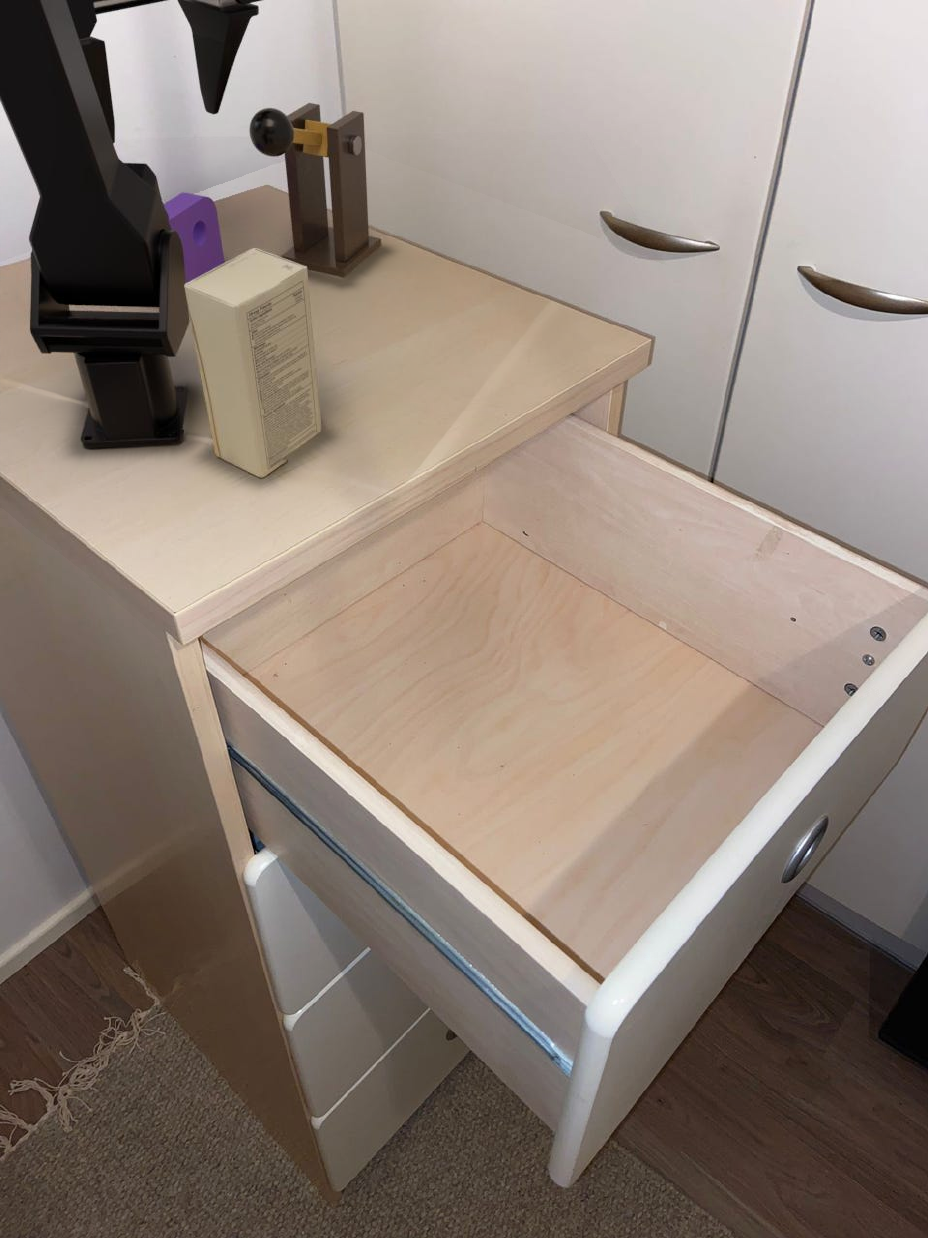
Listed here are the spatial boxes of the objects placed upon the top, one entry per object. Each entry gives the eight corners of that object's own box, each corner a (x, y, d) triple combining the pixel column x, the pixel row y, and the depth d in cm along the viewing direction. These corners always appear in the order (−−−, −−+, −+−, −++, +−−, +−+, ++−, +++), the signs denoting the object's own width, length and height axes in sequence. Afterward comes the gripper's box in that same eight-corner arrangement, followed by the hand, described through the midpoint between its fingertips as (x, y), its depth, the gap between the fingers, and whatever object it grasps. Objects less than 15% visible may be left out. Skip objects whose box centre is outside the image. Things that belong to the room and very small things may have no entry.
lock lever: (277, 158, 70) (281, 109, 69) (239, 151, 71) (242, 102, 70) (348, 165, 80) (352, 121, 78) (313, 158, 81) (317, 115, 79)
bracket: (226, 272, 83) (213, 190, 78) (181, 307, 79) (165, 222, 74) (106, 246, 86) (88, 166, 81) (57, 279, 81) (33, 195, 77)
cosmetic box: (276, 415, 68) (255, 244, 59) (325, 437, 66) (311, 264, 58) (211, 458, 64) (179, 282, 56) (262, 482, 62) (236, 304, 54)
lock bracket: (344, 283, 82) (335, 135, 74) (282, 269, 84) (266, 122, 76) (381, 251, 87) (376, 108, 79) (322, 238, 89) (311, 96, 80)
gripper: (158, -166, 69) (194, 76, 80) (-97, -146, 59) (-16, 130, 70) (263, -149, 64) (286, 108, 75) (5, -123, 54) (75, 171, 65)
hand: (162, 126), depth 71 cm, fingers open, 9 cm apart
